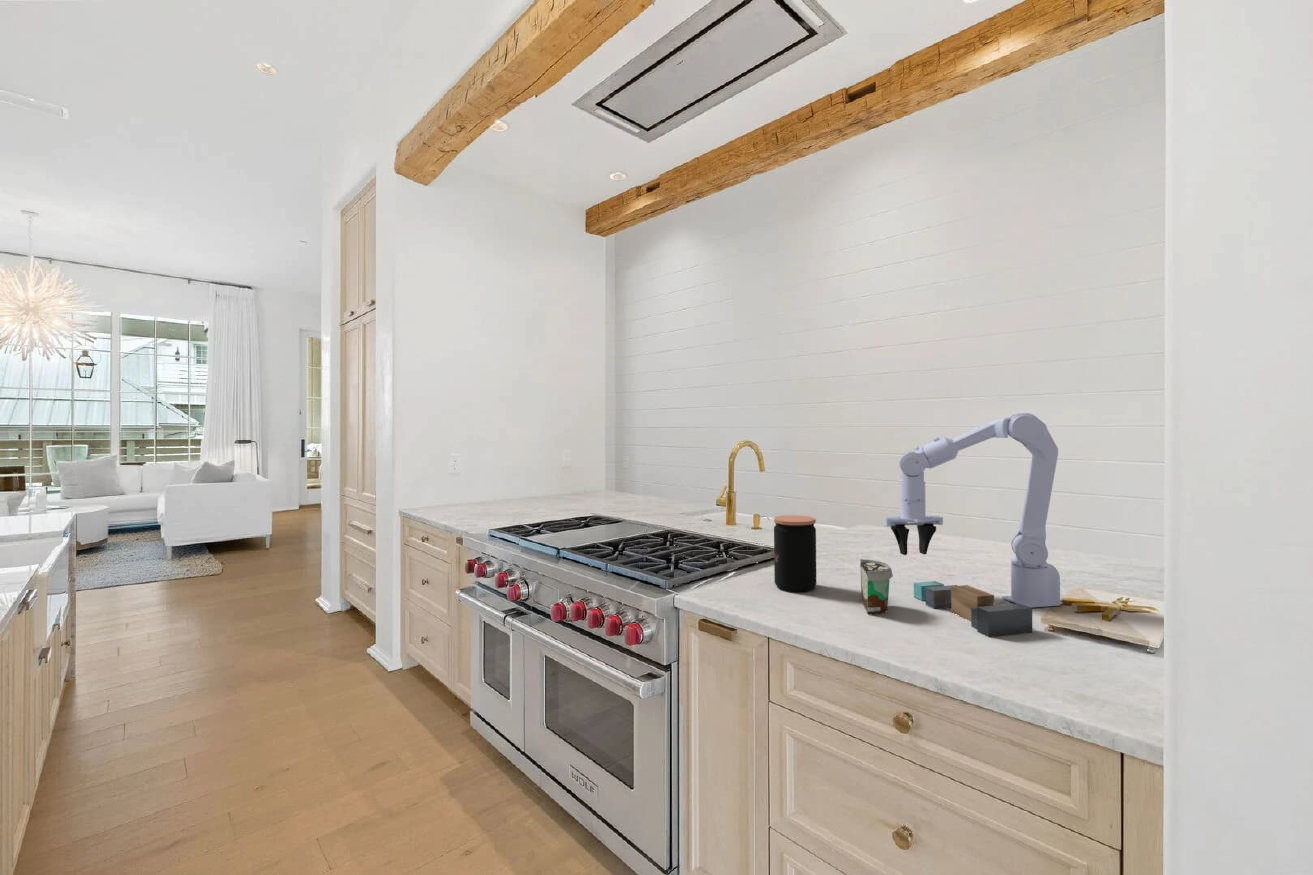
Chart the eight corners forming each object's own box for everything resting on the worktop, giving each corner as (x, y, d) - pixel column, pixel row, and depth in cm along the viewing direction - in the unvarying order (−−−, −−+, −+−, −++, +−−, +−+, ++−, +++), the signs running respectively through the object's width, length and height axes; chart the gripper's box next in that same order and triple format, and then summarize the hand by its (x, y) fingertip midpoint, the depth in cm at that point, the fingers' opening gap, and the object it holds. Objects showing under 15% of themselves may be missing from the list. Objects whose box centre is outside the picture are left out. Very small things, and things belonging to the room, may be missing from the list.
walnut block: (967, 611, 131) (967, 585, 131) (994, 623, 124) (993, 595, 123) (951, 613, 131) (951, 586, 131) (977, 625, 123) (977, 596, 123)
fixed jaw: (1009, 623, 123) (1009, 599, 123) (1032, 632, 117) (1032, 608, 117) (966, 626, 122) (966, 602, 121) (988, 636, 116) (988, 611, 116)
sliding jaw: (939, 594, 144) (939, 578, 144) (965, 605, 135) (965, 588, 135) (910, 597, 142) (909, 580, 142) (933, 608, 134) (933, 590, 133)
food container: (898, 618, 128) (897, 572, 127) (868, 616, 129) (868, 571, 129) (887, 601, 140) (887, 559, 140) (860, 600, 141) (860, 558, 141)
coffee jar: (784, 579, 160) (783, 514, 160) (822, 585, 154) (821, 517, 154) (767, 589, 152) (766, 519, 151) (807, 595, 146) (806, 523, 145)
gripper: (892, 502, 143) (893, 558, 143) (949, 501, 144) (950, 556, 144) (879, 499, 150) (879, 552, 150) (934, 497, 151) (934, 550, 151)
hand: (913, 554), depth 147 cm, fingers open, 4 cm apart
